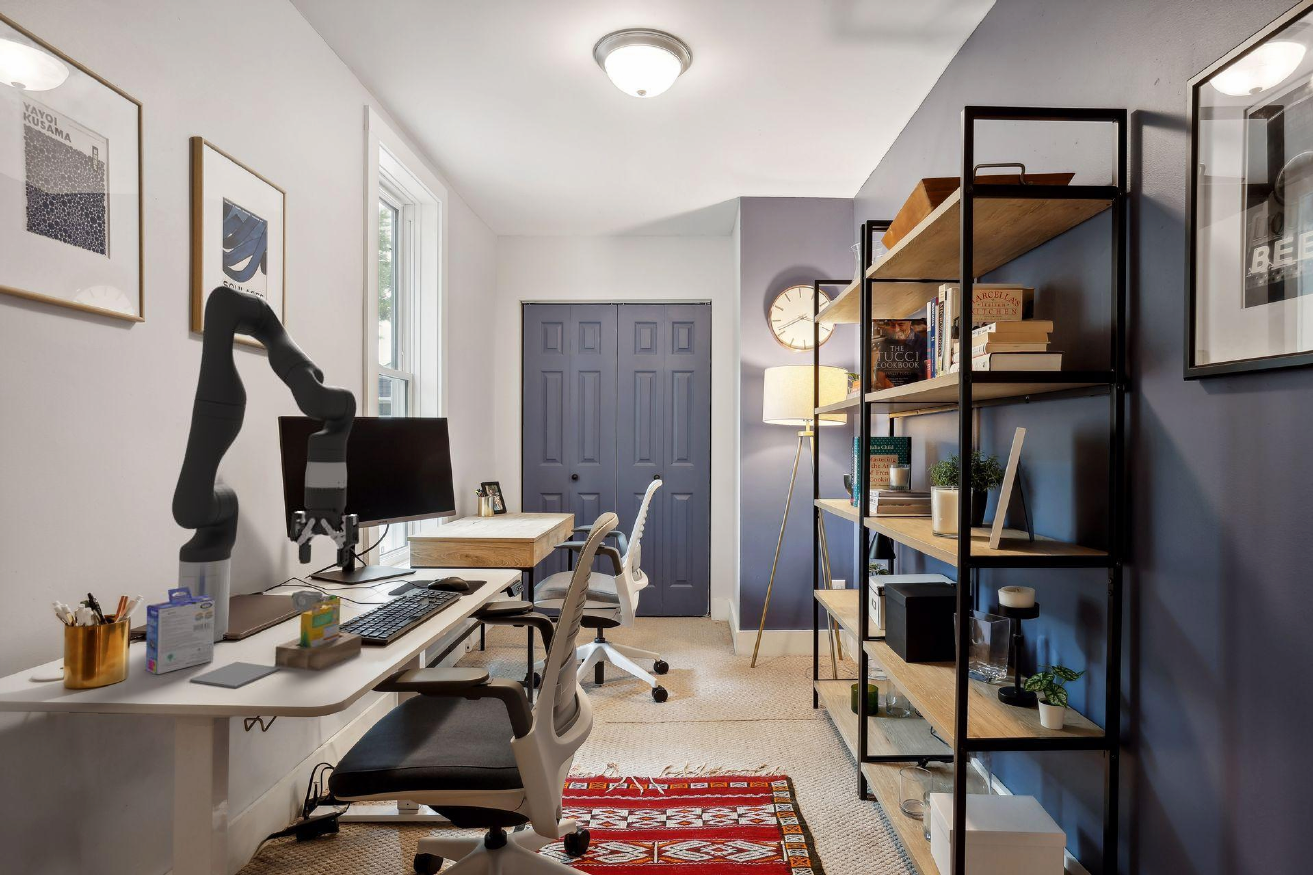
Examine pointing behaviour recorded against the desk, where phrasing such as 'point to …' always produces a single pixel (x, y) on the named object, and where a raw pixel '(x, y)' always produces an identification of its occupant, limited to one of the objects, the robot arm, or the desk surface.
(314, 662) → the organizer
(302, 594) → the mechanical component
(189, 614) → the ink cartridge box
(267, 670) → the mat
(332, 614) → the crayon box
